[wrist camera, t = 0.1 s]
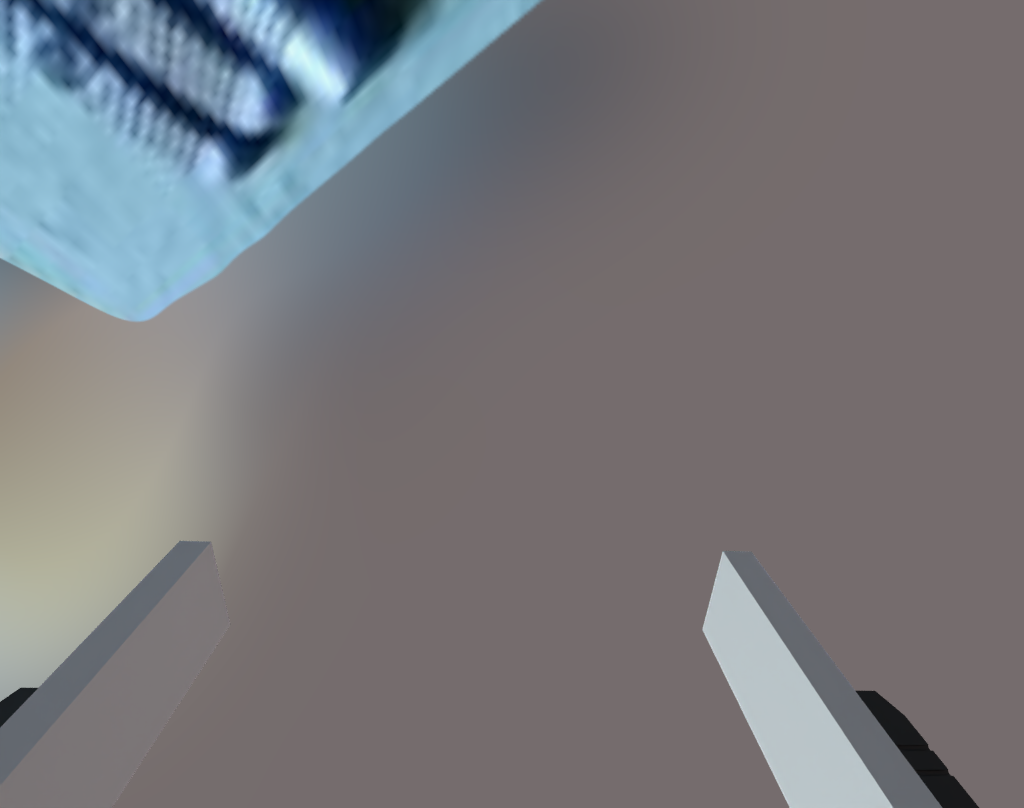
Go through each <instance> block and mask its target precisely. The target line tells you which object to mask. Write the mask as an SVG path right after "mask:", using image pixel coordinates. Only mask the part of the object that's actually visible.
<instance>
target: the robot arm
mask: <svg viewBox="0 0 1024 808" xmlns="http://www.w3.org/2000/svg"><path fill="white" fill-rule="evenodd" d="M229 625H230V621H229V617H228V612H227V608H226V604H225V599H224V595H223V591H222V586H221V583H220V578H219V574H218V569H217V565H216V561H215V556H214V552H213V548H212V543H211V542H199V541H198V542H197V541H179V543H177V545H176V546H175V547H174V548H173V549H172V550H171V551H170V552H169V553H168V554H167V555H166V556H165V557H164V558H163V559H162V560H161V561H160V562H159V563H158V564H157V565H156V566H155V567H154V569H153V570H152V571H151V572H150V573H149V574H148V575H147V576H146V577H145V578H144V579H143V580H142V581H141V582H140V583H139V584H138V585H137V586H136V587H135V588H134V589H133V590H132V591H131V592H130V593H129V594H128V595H127V596H126V598H125V599H124V600H123V601H122V602H121V603H120V604H119V605H118V606H117V607H116V608H115V609H114V610H113V611H112V612H111V613H110V614H109V615H108V616H107V617H106V618H105V619H104V621H102V622H101V624H100V625H99V626H98V627H97V628H96V629H95V630H94V631H93V632H92V633H91V634H90V635H89V636H88V637H87V638H86V639H85V640H84V641H83V642H82V643H81V644H80V645H79V646H78V647H77V649H76V650H75V651H74V652H73V653H72V654H71V655H70V656H69V657H68V658H67V659H66V660H65V661H64V662H63V663H62V664H61V665H60V666H59V667H58V668H57V669H56V670H55V671H54V672H53V673H52V675H51V676H49V678H48V679H47V680H46V681H45V682H44V683H43V684H42V685H41V686H40V687H39V688H20V689H18V690H17V691H15V692H14V693H12V694H11V695H9V697H7V698H5V699H4V700H2V701H1V702H0V808H112V807H113V805H114V804H115V802H116V801H117V799H118V798H119V796H120V795H121V793H122V792H123V790H124V788H125V787H126V785H127V784H128V782H129V781H130V779H131V778H132V776H133V774H134V773H135V771H136V770H137V768H138V767H139V765H140V763H141V762H142V760H143V759H144V757H145V755H146V754H147V753H148V751H149V750H150V748H151V746H152V745H153V744H154V742H155V740H156V739H157V737H158V736H159V734H160V732H161V731H162V729H163V728H164V726H165V725H166V723H167V722H168V720H169V719H170V717H171V716H172V714H173V712H174V711H175V709H176V708H177V706H178V705H179V703H180V702H181V700H182V699H183V697H184V695H185V694H186V692H187V691H188V689H189V687H190V686H191V685H192V683H193V681H194V680H195V678H196V677H197V675H198V674H199V672H200V671H201V669H202V668H203V666H204V665H205V663H206V661H207V660H208V658H209V657H210V655H211V654H212V652H213V651H214V649H215V647H216V646H217V644H218V643H219V641H220V640H221V638H222V636H223V635H224V634H225V632H226V630H227V629H228V627H229ZM703 632H704V634H705V636H706V638H707V640H708V642H709V644H710V646H711V648H712V650H713V652H714V654H715V656H716V658H717V660H718V662H719V664H720V666H721V668H722V671H723V673H724V674H725V677H726V678H727V681H728V683H729V685H730V687H731V689H732V691H733V693H734V695H735V697H736V699H737V701H738V703H739V705H740V707H741V709H742V711H743V713H744V715H745V717H746V719H747V721H748V723H749V726H750V728H751V729H752V732H753V733H754V736H755V738H756V740H757V742H758V744H759V746H760V748H761V750H762V752H763V754H764V756H765V758H766V760H767V762H768V764H769V766H770V768H771V770H772V772H773V774H774V776H775V779H776V780H777V783H778V785H779V787H780V789H781V791H782V792H783V795H784V797H785V799H786V801H787V803H788V805H789V807H790V808H979V807H978V806H977V805H976V803H975V802H974V801H973V800H972V798H971V797H970V796H969V795H968V793H967V792H966V791H965V790H964V789H963V787H962V786H961V785H960V784H959V782H958V781H957V780H956V779H955V777H954V776H951V775H950V774H949V773H948V769H947V767H946V766H945V765H944V764H943V763H942V761H941V760H940V759H939V758H938V756H937V755H936V754H935V753H934V751H930V749H929V748H928V744H927V743H926V741H925V740H924V739H923V738H922V736H921V735H920V734H919V733H918V731H917V730H916V729H915V728H914V727H913V725H912V724H911V723H910V722H909V720H908V719H907V718H906V717H905V716H904V715H903V714H902V713H901V712H900V711H899V710H897V709H896V708H895V707H894V706H892V705H891V704H890V703H889V702H888V701H887V700H885V699H884V698H883V697H882V696H880V695H879V694H878V693H877V692H876V691H855V690H854V689H853V687H852V686H851V685H850V683H849V682H848V681H847V679H846V678H845V677H844V675H843V674H842V673H841V671H840V670H839V668H838V667H837V666H836V664H835V663H834V662H833V660H832V659H831V658H830V657H829V655H828V654H827V652H826V651H825V650H824V648H823V647H822V646H821V644H820V643H819V642H818V640H817V639H816V638H815V636H814V635H813V634H812V632H811V631H810V630H809V628H808V627H807V626H806V624H805V623H804V622H803V620H802V619H801V618H800V616H799V615H798V614H797V612H796V611H795V610H794V608H793V607H792V606H791V604H790V603H789V602H788V600H787V599H786V598H785V596H784V595H783V594H782V592H781V591H780V589H779V588H778V587H777V585H776V584H775V583H774V581H773V580H772V579H771V577H770V576H769V575H768V574H767V572H766V571H765V570H764V568H763V567H762V565H761V564H760V563H759V561H758V560H757V559H756V557H755V556H754V555H753V553H752V552H740V551H735V552H734V551H723V553H722V557H721V560H720V564H719V568H718V572H717V576H716V580H715V583H714V587H713V591H712V595H711V599H710V603H709V606H708V610H707V614H706V618H705V622H704V626H703Z"/></svg>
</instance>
